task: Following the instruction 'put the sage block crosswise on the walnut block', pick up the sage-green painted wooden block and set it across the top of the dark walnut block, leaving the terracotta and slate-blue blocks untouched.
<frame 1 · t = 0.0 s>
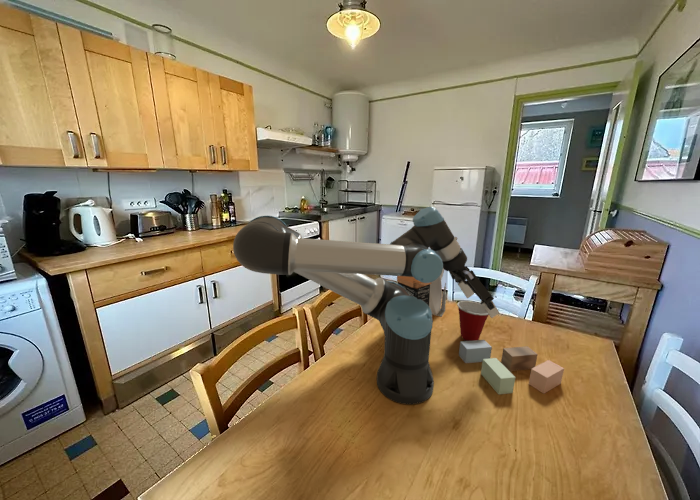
hand: (481, 304, 90), 15 cm above the table, tool tilted 35°, fingers open, 13 cm apart
sage block: (495, 383, 78), on the table
walnut block: (517, 365, 85), on the table
terracotta block: (544, 384, 78), on the table
whiskey bottle: (411, 326, 107), on the table
plastic cup: (470, 337, 100), on the table
skyscraper: (433, 312, 118), on the table
slate block: (474, 358, 88), on the table
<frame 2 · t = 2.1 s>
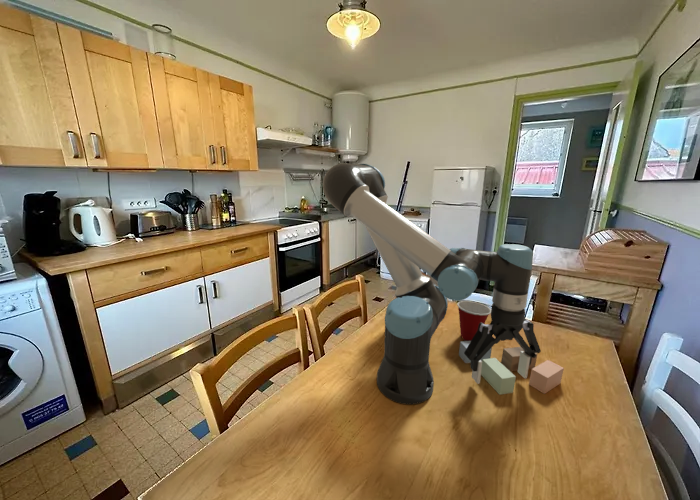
hand: (499, 377, 77), 2 cm above the table, tool pointing down, fingers open, 13 cm apart
nothing on the table moved.
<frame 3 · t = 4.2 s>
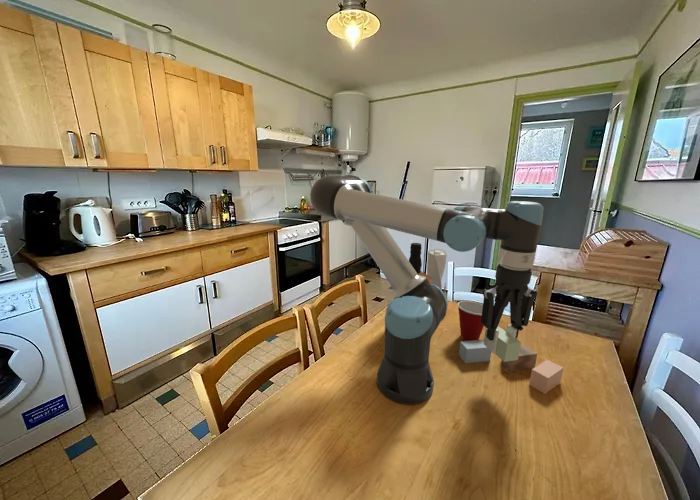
hand: (499, 349, 75), 10 cm above the table, tool pointing down, fingers closed on sage block, 4 cm apart
sage block: (499, 351, 75), point 10 cm above the table, touching gripper
everything else where it was.
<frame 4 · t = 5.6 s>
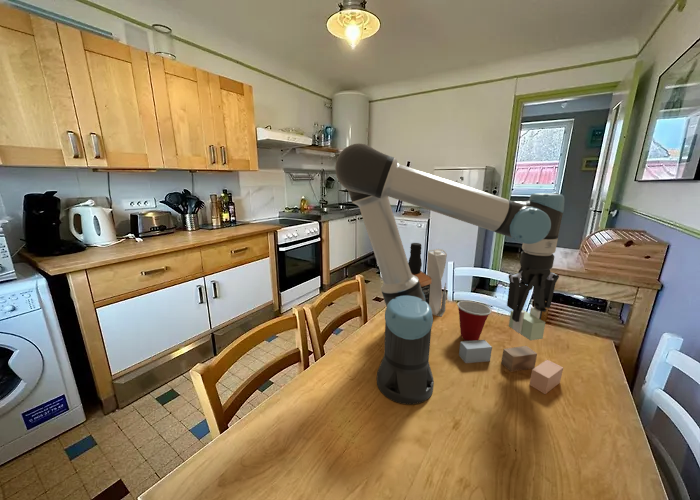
hand: (524, 330, 82), 12 cm above the table, tool pointing down, fingers closed on sage block, 4 cm apart
sage block: (524, 332, 82), point 11 cm above the table, touching gripper
everything else where it was.
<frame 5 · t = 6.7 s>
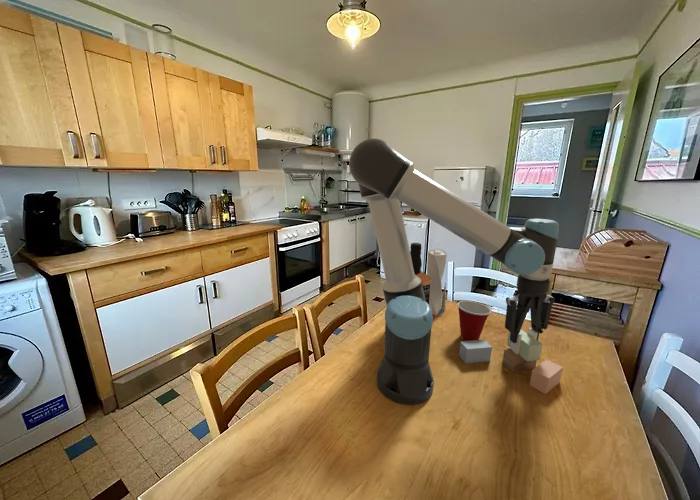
hand: (522, 350, 84), 5 cm above the table, tool pointing down, fingers closed on sage block, 4 cm apart
sage block: (522, 352, 83), point 5 cm above the table, touching gripper, walnut block
walnut block: (518, 366, 85), on the table, touching gripper, sage block
everything else where it was.
when the fingers open (5 cm above the table, at t = 7.1 s): sage block stays where it is, resting on walnut block.
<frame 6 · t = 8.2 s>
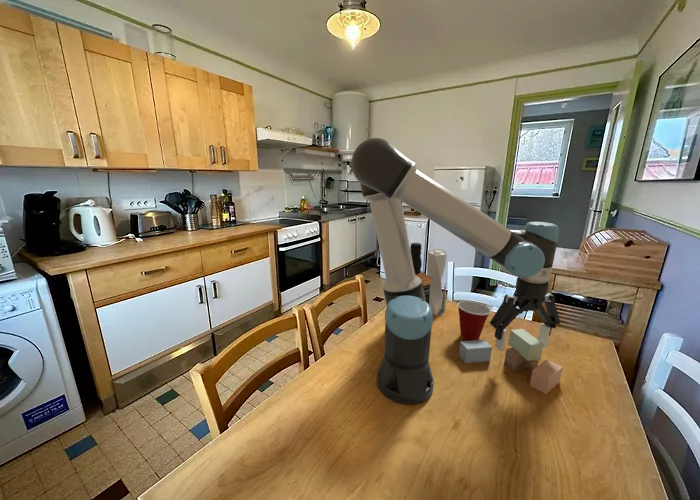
hand: (520, 346, 83), 6 cm above the table, tool pointing down, fingers open, 13 cm apart
sage block: (523, 351, 84), point 5 cm above the table, touching walnut block
walnut block: (520, 365, 85), on the table, touching sage block
everything else where it was.
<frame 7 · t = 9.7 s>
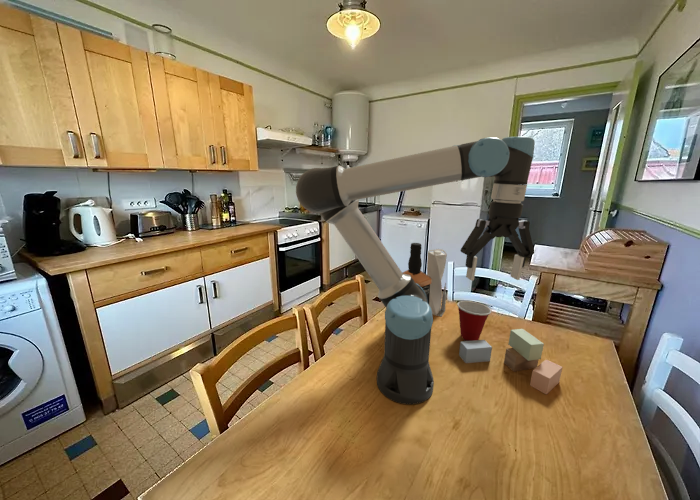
hand: (492, 278, 79), 27 cm above the table, tool pointing down, fingers open, 13 cm apart
nothing on the table moved.
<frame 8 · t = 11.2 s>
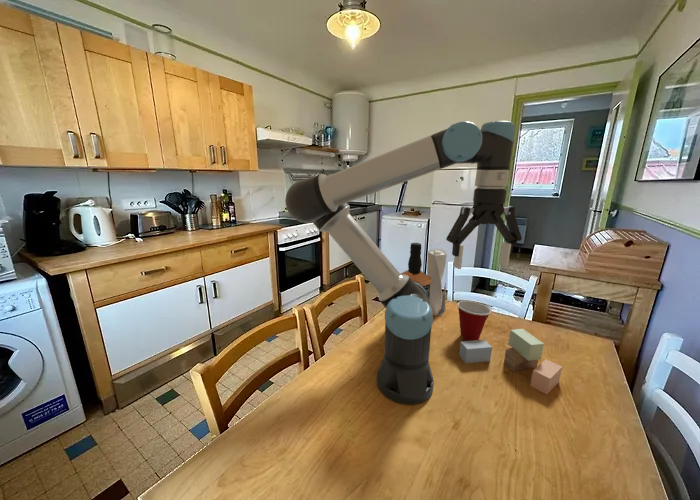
hand: (480, 266, 78), 31 cm above the table, tool pointing down, fingers open, 13 cm apart
nothing on the table moved.
at the end: sage block 0.4 cm off-centre on the walnut block, point 5.0 cm above the walnut block's base; terracotta block moved 0.2 cm from its start; slate block moved 0.2 cm from its start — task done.
